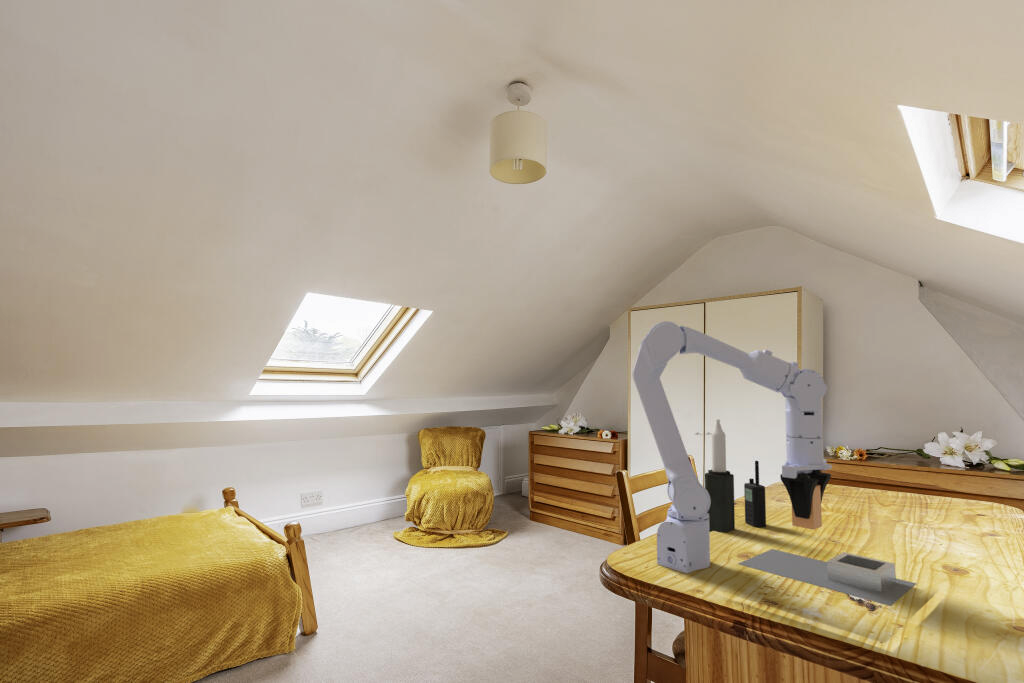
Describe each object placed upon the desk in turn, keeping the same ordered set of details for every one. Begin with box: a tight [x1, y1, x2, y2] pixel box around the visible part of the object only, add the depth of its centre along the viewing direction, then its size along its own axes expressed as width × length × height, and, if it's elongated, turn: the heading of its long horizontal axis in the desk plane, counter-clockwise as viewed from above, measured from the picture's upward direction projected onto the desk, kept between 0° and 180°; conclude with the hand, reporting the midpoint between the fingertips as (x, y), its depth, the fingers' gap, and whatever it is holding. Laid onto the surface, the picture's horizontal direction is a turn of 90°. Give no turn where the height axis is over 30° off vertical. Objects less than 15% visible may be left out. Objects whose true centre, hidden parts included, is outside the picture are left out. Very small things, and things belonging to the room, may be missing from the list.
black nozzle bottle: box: [704, 418, 736, 534], centre depth 119 cm, size 5×5×25 cm
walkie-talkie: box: [743, 460, 767, 528], centre depth 126 cm, size 5×3×15 cm
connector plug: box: [791, 475, 823, 530], centre depth 93 cm, size 4×4×9 cm
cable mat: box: [737, 548, 917, 607], centre depth 91 cm, size 14×23×1 cm, turn 40°
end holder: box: [826, 551, 897, 594], centre depth 87 cm, size 8×8×3 cm
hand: (807, 515), depth 93 cm, fingers closed on connector plug, 3 cm apart
